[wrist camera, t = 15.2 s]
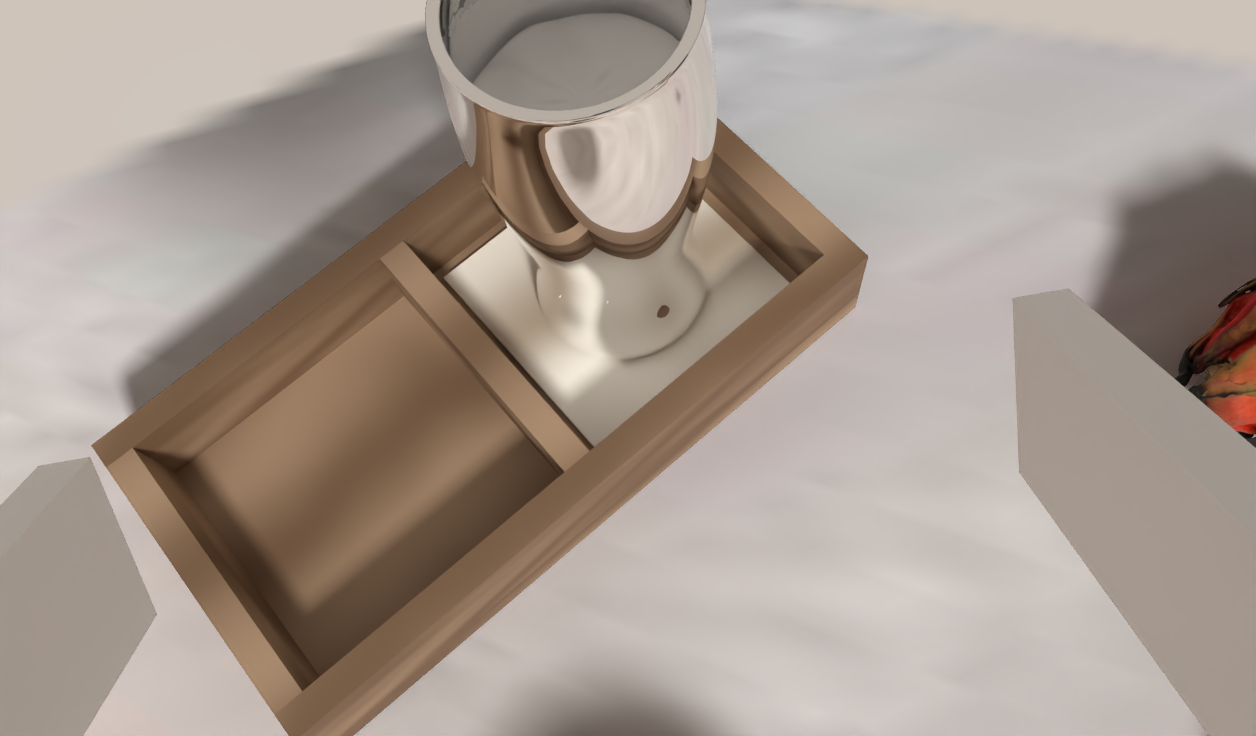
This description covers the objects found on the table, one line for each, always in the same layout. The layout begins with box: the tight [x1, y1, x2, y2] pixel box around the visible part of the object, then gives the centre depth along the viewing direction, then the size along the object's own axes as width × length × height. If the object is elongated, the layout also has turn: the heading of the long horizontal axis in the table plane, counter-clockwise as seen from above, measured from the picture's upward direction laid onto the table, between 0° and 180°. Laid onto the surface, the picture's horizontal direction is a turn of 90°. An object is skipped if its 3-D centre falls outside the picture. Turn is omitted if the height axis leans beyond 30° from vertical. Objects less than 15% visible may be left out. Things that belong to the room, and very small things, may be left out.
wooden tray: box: [91, 118, 868, 736], centre depth 38 cm, size 12×23×4 cm, turn 130°
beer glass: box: [425, 0, 717, 360], centre depth 32 cm, size 7×7×15 cm
